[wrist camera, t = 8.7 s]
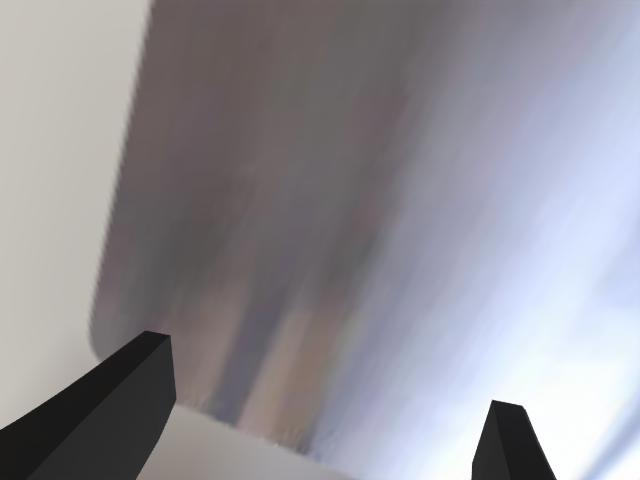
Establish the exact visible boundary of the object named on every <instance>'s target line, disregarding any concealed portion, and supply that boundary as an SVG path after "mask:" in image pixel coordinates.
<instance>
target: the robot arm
mask: <svg viewBox="0 0 640 480" xmlns="http://www.w3.org/2000/svg"><path fill="white" fill-rule="evenodd" d="M175 401H176V389H175V379H174V368H173V358H172V348H171V338H170V335H165V334H160V333H155V332H150V331H144V332H143V333H141V334H140V335H139V336H137V337H136V338H134V339H133V340H132V341H130V342H129V343H127V344H126V345H125V346H123V347H122V348H121V349H119V350H118V351H117V352H115V353H114V354H113V355H111V356H110V357H109V358H107V359H106V360H104V361H103V362H102V363H100V364H99V365H98V366H96V367H95V368H94V369H92V370H91V371H89V372H88V373H87V374H85V375H84V376H83V377H81V378H80V379H78V380H77V381H75V382H74V383H72V384H71V385H70V386H68V387H67V388H66V389H64V390H62V391H61V392H60V393H58V394H57V395H55V396H54V397H52V398H50V399H49V400H47V401H46V402H44V403H43V404H41V405H40V406H38V407H37V408H35V409H34V410H32V411H31V412H29V413H27V414H26V415H24V416H23V417H21V418H20V419H18V420H16V421H15V422H13V423H11V424H10V425H8V426H6V427H4V428H3V429H1V430H0V480H136V478H137V476H138V475H139V473H140V471H141V470H142V468H143V466H144V464H145V463H146V461H147V459H148V458H149V456H150V454H151V452H152V451H153V449H154V447H155V445H156V444H157V442H158V440H159V438H160V436H161V434H162V431H163V429H164V427H165V425H166V423H167V420H168V418H169V415H170V413H171V411H172V408H173V406H174V404H175ZM471 480H557V479H556V477H555V475H554V473H553V471H552V469H551V467H550V465H549V463H548V461H547V459H546V456H545V454H544V452H543V450H542V448H541V446H540V443H539V441H538V439H537V436H536V434H535V432H534V429H533V427H532V425H531V422H530V420H529V417H528V415H527V412H526V410H525V409H524V408H523V406H521V405H516V404H511V403H506V402H501V401H496V400H492V402H491V405H490V408H489V412H488V415H487V418H486V421H485V424H484V427H483V431H482V434H481V437H480V440H479V443H478V446H477V450H476V453H475V456H474V459H473V462H472V479H471Z"/></svg>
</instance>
